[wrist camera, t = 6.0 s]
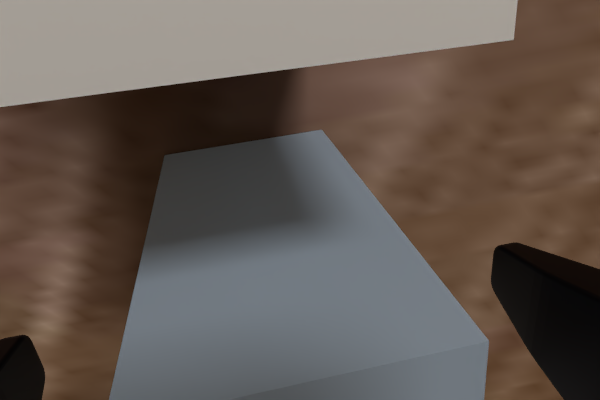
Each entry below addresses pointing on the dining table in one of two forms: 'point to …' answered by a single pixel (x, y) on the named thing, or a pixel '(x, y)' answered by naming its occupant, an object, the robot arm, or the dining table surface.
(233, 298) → the blue domino
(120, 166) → the dining table surface
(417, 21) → the domino
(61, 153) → the dining table surface
